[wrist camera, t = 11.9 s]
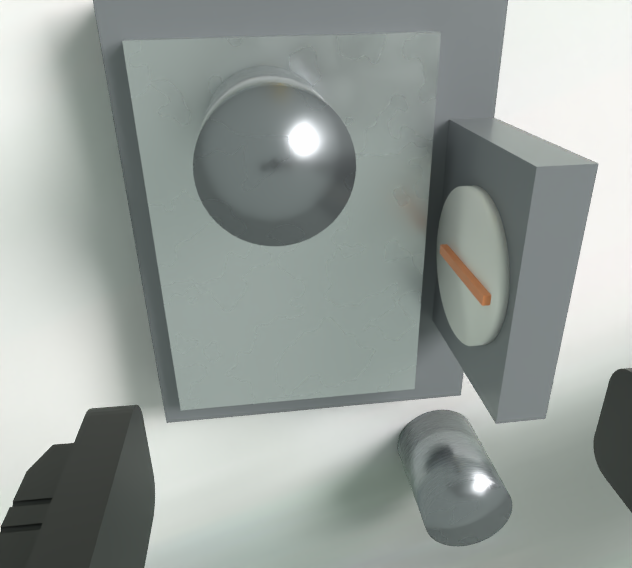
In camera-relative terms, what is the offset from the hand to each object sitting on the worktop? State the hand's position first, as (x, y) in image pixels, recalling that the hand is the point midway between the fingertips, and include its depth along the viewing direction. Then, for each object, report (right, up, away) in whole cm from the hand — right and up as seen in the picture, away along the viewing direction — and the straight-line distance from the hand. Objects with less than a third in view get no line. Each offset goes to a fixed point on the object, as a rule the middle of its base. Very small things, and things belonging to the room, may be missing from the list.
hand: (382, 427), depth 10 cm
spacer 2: (+7, -8, +27) cm, 29 cm away
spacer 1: (-3, +9, +13) cm, 16 cm away
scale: (-2, +6, +19) cm, 20 cm away
